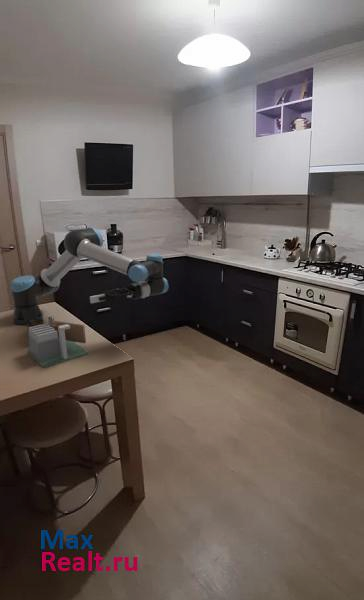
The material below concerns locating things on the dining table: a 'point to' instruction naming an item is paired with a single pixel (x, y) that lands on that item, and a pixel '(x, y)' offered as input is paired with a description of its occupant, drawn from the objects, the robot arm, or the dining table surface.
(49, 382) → the dining table surface
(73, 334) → the hinge
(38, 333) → the heat sink
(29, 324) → the beverage carton
